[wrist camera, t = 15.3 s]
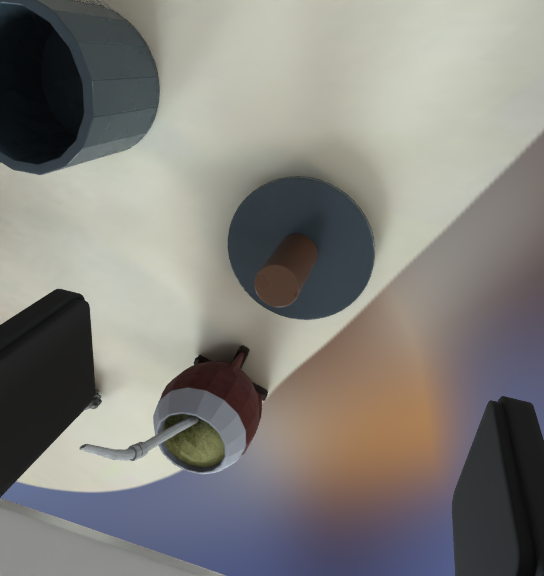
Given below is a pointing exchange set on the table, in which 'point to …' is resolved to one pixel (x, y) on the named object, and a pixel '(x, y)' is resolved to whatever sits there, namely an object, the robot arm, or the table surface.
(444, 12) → the table surface
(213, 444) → the mate gourd
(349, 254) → the lid
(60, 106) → the pot
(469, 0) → the table surface
